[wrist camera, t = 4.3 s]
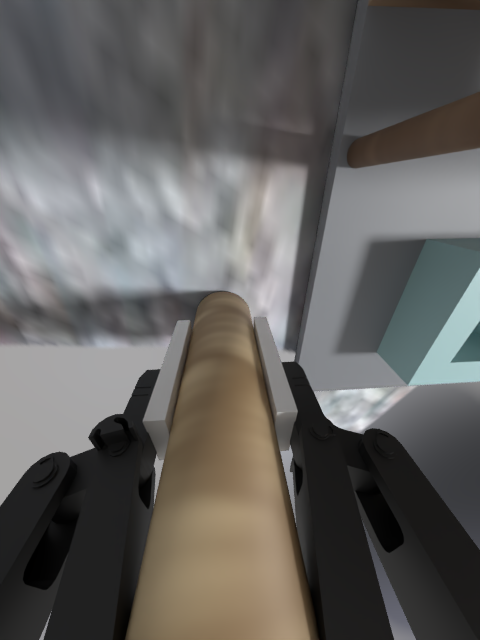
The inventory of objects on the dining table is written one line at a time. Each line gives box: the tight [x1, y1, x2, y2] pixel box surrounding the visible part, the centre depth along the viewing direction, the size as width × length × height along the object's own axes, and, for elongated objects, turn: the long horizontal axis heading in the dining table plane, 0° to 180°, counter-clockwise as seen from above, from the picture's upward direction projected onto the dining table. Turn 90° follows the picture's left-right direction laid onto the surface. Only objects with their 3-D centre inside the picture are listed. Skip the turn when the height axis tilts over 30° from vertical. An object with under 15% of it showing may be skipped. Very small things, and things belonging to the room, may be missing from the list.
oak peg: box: [125, 292, 320, 640], centre depth 10 cm, size 4×4×14 cm
